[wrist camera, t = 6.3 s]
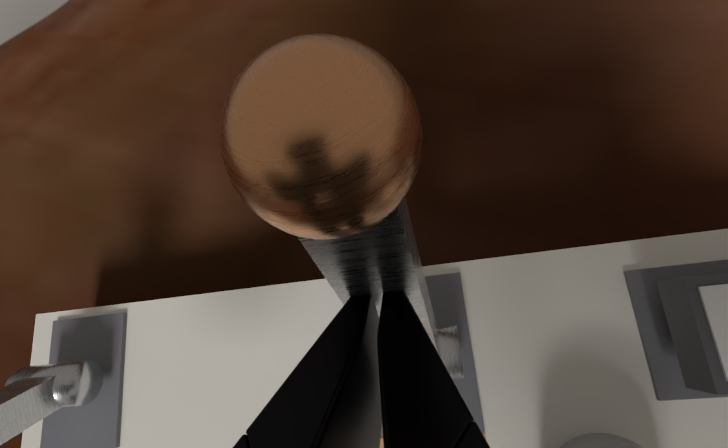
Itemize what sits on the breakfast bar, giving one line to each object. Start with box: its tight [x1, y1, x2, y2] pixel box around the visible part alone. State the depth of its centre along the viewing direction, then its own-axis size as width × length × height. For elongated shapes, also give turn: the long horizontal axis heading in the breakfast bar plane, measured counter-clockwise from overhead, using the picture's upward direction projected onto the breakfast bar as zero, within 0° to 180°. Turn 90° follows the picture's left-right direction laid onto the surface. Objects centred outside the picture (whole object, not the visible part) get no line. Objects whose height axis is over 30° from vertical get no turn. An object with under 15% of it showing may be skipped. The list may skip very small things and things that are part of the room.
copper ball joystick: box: [220, 34, 464, 379], centre depth 9 cm, size 3×3×12 cm
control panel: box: [21, 229, 728, 448], centre depth 15 cm, size 11×30×3 cm, turn 95°
